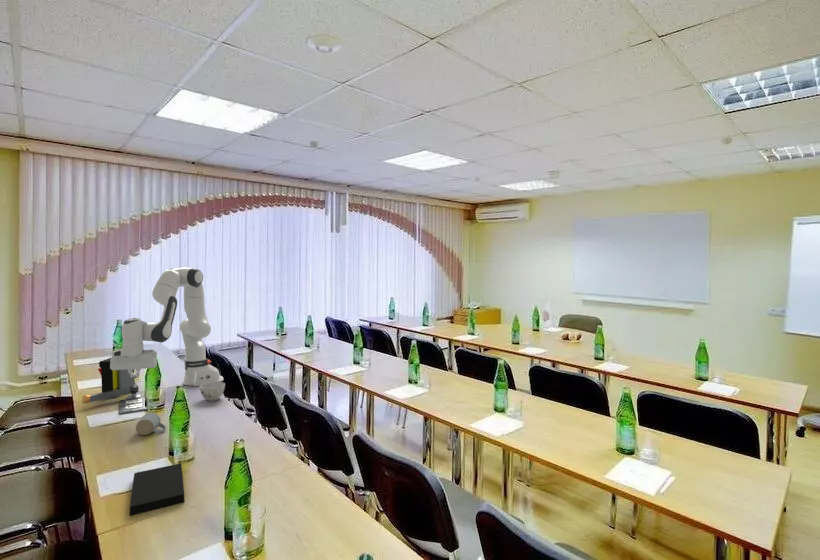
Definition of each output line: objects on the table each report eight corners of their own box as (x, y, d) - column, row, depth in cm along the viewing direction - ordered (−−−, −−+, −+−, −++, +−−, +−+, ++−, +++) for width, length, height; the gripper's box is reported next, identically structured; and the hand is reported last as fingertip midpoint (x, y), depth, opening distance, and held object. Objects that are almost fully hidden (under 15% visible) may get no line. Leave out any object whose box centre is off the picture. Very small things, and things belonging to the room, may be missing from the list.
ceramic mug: (134, 437, 180) (134, 419, 180) (141, 429, 188) (141, 412, 188) (162, 435, 182) (162, 417, 182) (168, 428, 190) (168, 411, 190)
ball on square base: (140, 395, 236) (140, 390, 235) (140, 398, 231) (140, 393, 230) (127, 396, 232) (127, 392, 232) (127, 400, 227) (127, 395, 227)
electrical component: (117, 398, 231) (116, 361, 230) (98, 397, 231) (97, 361, 230) (138, 388, 248) (137, 354, 247) (121, 388, 248) (120, 354, 247)
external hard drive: (129, 517, 125) (129, 507, 125) (134, 481, 145) (134, 472, 145) (184, 503, 132) (184, 494, 132) (181, 471, 152) (181, 463, 152)
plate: (147, 397, 231) (147, 395, 231) (148, 409, 213) (148, 407, 212) (120, 401, 224) (120, 399, 224) (119, 414, 206) (119, 412, 206)
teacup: (196, 399, 229) (196, 384, 229) (220, 394, 238) (220, 380, 238) (206, 406, 219) (205, 390, 218) (230, 400, 227) (230, 385, 227)
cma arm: (136, 390, 234) (136, 384, 234) (139, 391, 232) (139, 386, 232) (81, 401, 215) (81, 395, 215) (83, 403, 212) (83, 397, 212)
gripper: (158, 348, 220) (159, 374, 221) (113, 350, 216) (114, 377, 216) (153, 350, 214) (155, 377, 215) (107, 353, 209) (109, 380, 210)
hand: (134, 377), depth 216 cm, fingers closed
